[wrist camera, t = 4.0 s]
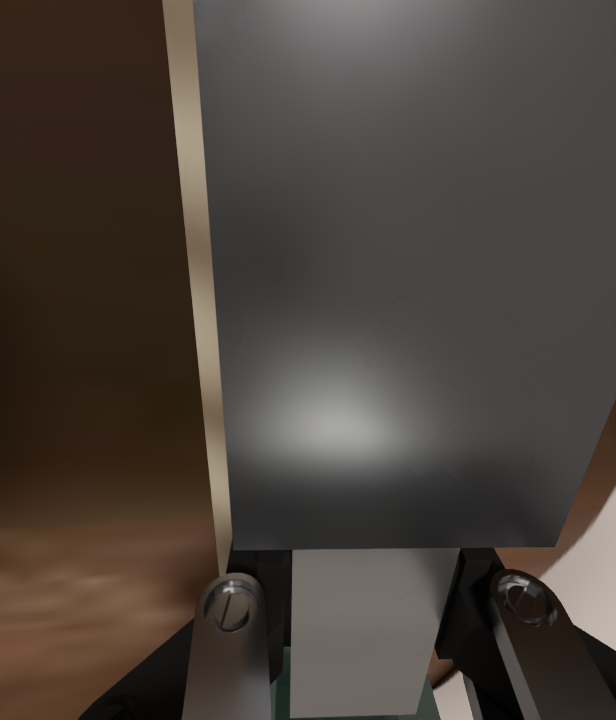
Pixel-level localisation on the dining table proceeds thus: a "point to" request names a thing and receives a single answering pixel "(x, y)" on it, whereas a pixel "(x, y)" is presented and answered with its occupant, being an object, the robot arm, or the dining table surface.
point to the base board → (199, 253)
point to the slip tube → (364, 628)
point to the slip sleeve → (410, 264)
